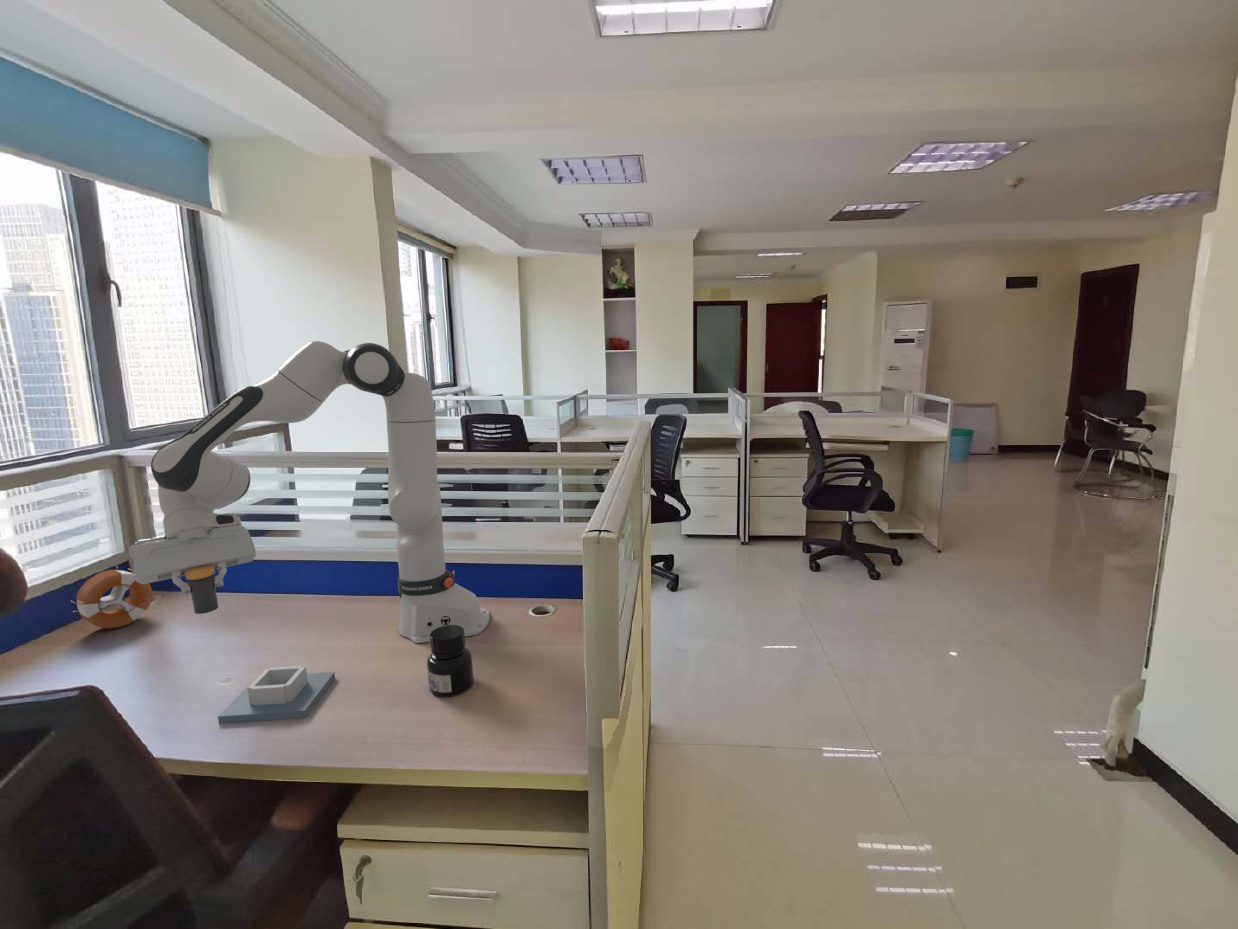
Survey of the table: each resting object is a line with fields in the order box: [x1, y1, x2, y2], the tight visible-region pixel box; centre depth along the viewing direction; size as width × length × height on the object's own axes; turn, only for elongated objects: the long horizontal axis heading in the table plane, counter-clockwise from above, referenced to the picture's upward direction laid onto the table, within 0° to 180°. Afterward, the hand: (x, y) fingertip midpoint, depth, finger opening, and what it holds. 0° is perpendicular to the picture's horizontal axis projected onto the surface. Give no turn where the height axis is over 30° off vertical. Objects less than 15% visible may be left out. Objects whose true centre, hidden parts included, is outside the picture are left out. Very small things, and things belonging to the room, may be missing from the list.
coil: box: [70, 566, 153, 630], centre depth 154 cm, size 7×15×15 cm, turn 148°
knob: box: [184, 565, 219, 615], centre depth 117 cm, size 5×5×8 cm
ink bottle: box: [426, 625, 474, 698], centre depth 121 cm, size 10×9×12 cm
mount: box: [217, 665, 336, 725], centre depth 118 cm, size 16×14×5 cm
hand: (203, 589), depth 117 cm, fingers closed on knob, 4 cm apart
